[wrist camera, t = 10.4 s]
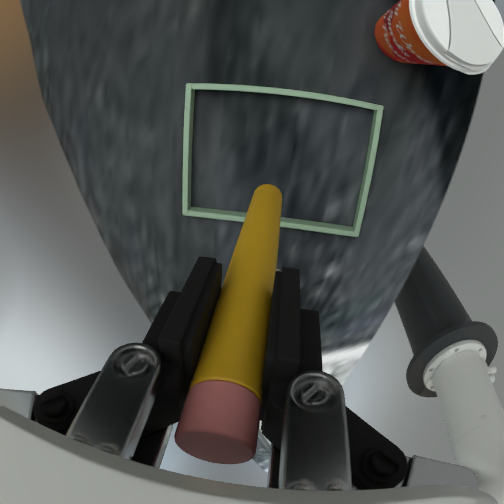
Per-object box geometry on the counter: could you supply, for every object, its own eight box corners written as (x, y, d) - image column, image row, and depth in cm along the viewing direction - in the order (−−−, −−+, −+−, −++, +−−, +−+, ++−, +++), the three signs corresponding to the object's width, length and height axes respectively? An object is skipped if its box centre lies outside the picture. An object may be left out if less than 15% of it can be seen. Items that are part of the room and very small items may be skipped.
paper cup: (352, 9, 23) (398, -33, 11) (417, 2, 21) (488, -29, 9) (377, 79, 27) (438, 80, 15) (439, 69, 25) (521, 73, 13)
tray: (378, 105, 28) (383, 106, 26) (355, 229, 35) (358, 237, 33) (191, 83, 29) (185, 83, 28) (187, 208, 36) (182, 215, 34)
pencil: (283, 185, 19) (259, 438, 5) (280, 212, 20) (252, 469, 6) (254, 182, 19) (168, 422, 6) (252, 209, 20) (177, 456, 6)
